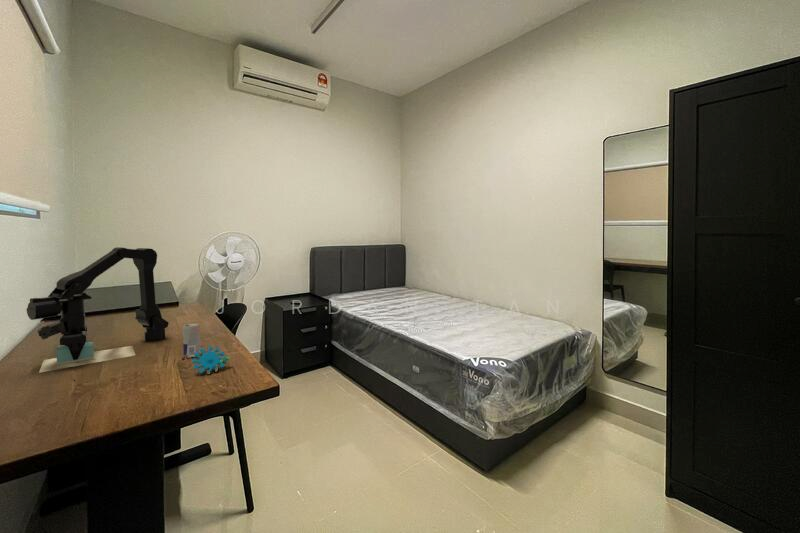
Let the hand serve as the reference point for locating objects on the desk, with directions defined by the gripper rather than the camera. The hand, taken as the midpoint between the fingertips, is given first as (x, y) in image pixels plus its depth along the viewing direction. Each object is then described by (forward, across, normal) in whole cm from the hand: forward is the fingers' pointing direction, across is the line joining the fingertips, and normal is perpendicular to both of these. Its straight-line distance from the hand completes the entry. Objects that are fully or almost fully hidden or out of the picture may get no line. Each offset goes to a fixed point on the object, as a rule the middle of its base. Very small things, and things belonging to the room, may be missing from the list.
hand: (75, 357), depth 115 cm
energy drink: (+2, +17, +32) cm, 36 cm away
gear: (+2, +36, +34) cm, 50 cm away
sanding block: (+1, 0, 0) cm, 1 cm away
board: (+2, 0, +4) cm, 4 cm away
